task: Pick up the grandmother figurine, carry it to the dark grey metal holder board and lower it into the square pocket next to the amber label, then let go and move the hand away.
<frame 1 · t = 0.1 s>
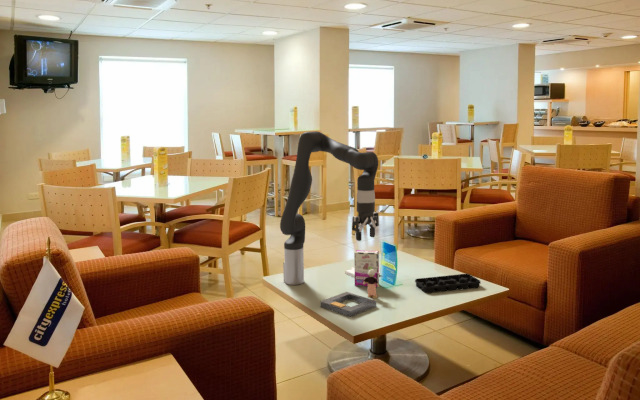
hand: (365, 238, 228), 29 cm above the table, tool pointing down, fingers open, 8 cm apart
holder board: (350, 305, 232), on the table
grandmother figurine: (371, 297, 243), on the table
egg carton: (447, 287, 256), on the table
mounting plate: (362, 275, 276), on the table
candy bar box: (366, 285, 259), on the table
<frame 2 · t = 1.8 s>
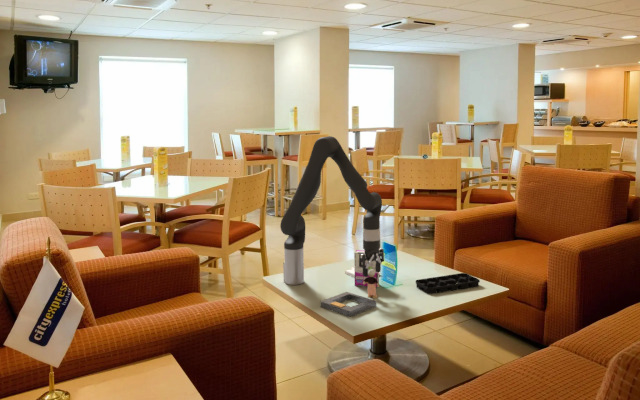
hand: (371, 274, 241), 10 cm above the table, tool pointing down, fingers open, 8 cm apart
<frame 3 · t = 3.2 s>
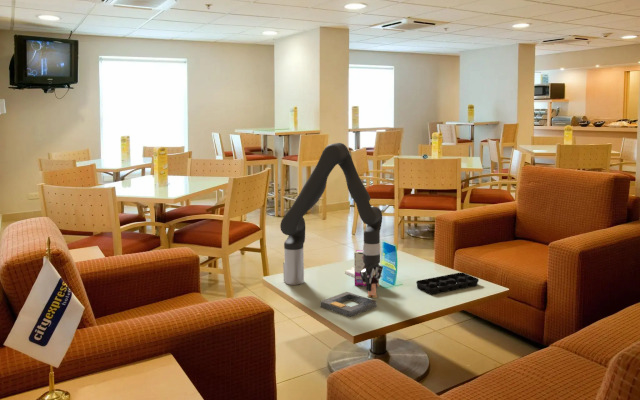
hand: (371, 289, 243), 3 cm above the table, tool pointing down, fingers closed on grandmother figurine, 3 cm apart
grandmother figurine: (371, 296, 243), on the table, touching gripper
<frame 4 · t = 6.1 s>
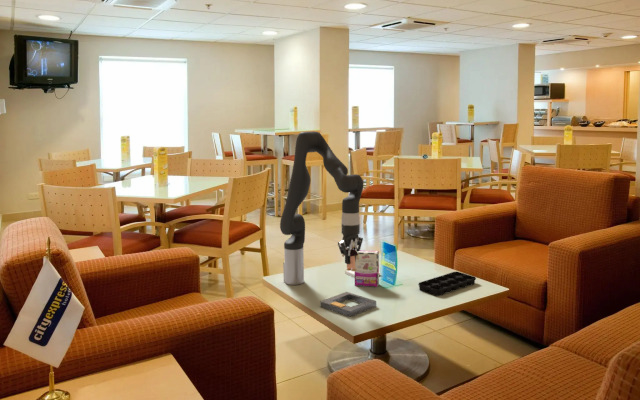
hand: (350, 262, 229), 19 cm above the table, tool pointing down, fingers closed on grandmother figurine, 3 cm apart
grandmother figurine: (350, 270, 230), point 16 cm above the table, touching gripper
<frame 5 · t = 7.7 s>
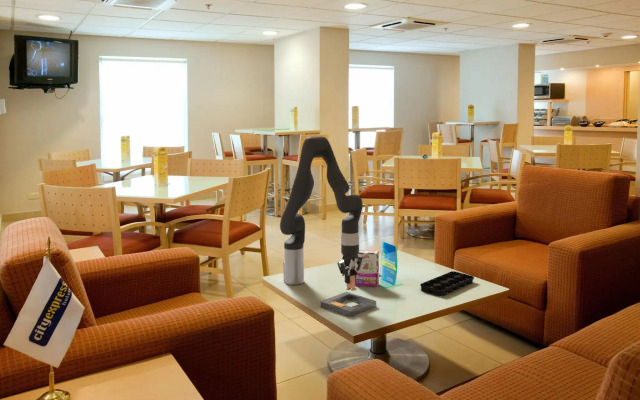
hand: (350, 282, 231), 11 cm above the table, tool pointing down, fingers closed on grandmother figurine, 3 cm apart
grandmother figurine: (349, 289, 231), point 7 cm above the table, touching gripper
when the fingers open (5 cm above the table, at t = 9.1 s): grandmother figurine drops 1 cm, resting in holder board.
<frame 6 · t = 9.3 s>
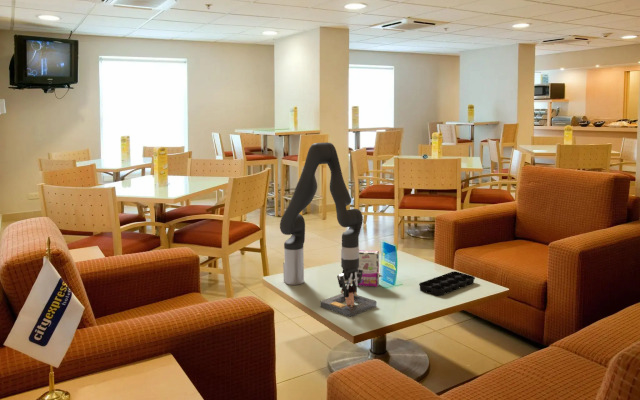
hand: (350, 295, 231), 5 cm above the table, tool pointing down, fingers open, 4 cm apart
grandmother figurine: (349, 306, 232), resting in holder board
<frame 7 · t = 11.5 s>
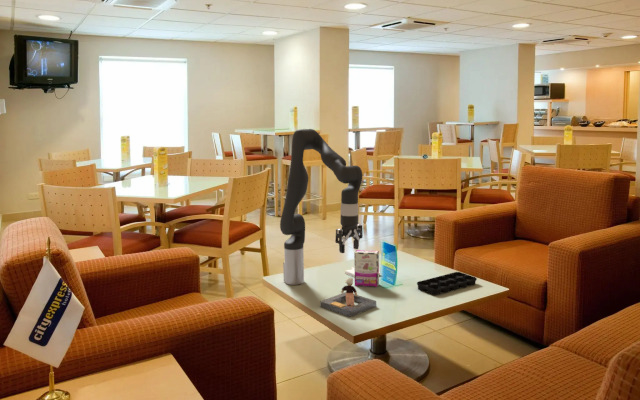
hand: (349, 250, 231), 23 cm above the table, tool pointing down, fingers open, 8 cm apart
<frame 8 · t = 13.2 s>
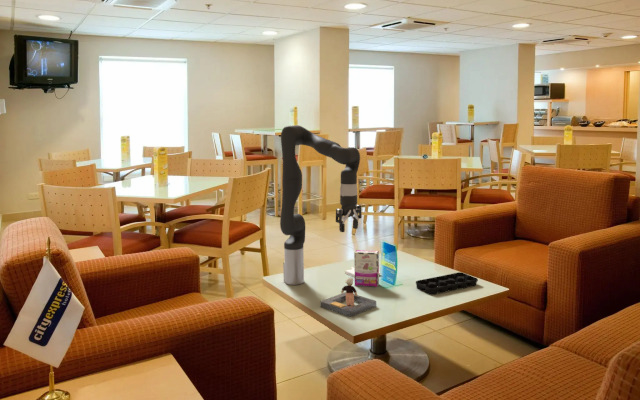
hand: (348, 230, 240), 30 cm above the table, tool pointing down, fingers open, 8 cm apart
at the end: grandmother figurine 0.3 cm off-centre on the holder board, point 0.0 cm above the holder board's base; grandmother figurine tilted 0°; the gripper is holding nothing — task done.
